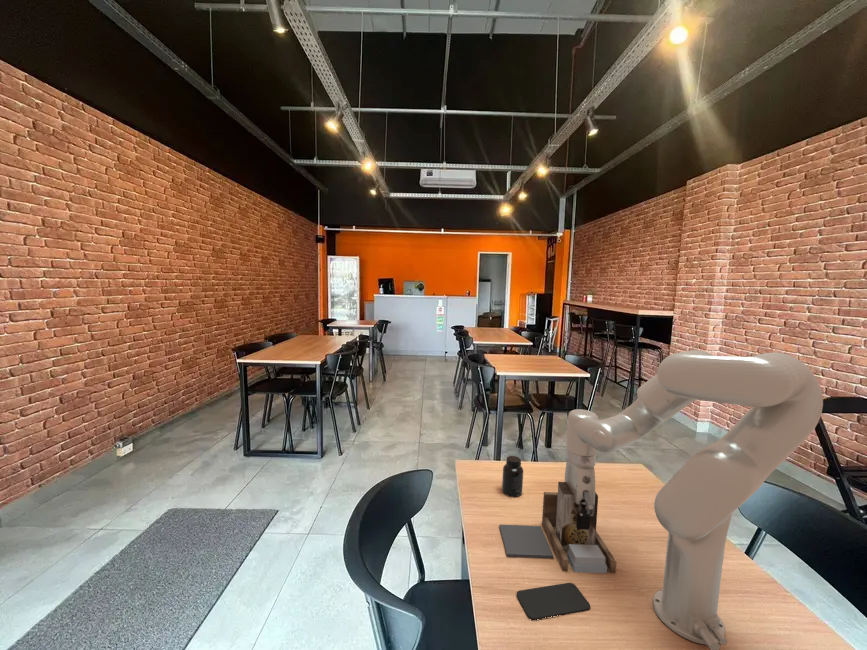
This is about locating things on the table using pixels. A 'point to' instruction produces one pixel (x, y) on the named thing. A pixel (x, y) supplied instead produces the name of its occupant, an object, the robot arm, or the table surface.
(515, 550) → the dark grey square plate
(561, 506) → the coffee box
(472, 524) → the table surface
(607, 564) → the walnut rack
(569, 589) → the phone
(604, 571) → the block
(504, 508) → the table surface
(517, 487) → the supplement bottle
